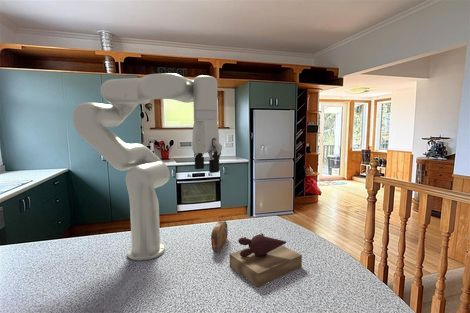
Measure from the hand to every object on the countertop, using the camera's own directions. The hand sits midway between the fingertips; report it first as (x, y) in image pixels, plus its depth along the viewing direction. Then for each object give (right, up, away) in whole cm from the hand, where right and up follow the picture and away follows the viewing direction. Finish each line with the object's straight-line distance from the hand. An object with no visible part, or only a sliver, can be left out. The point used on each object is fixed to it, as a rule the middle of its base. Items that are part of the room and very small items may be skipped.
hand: (206, 170), depth 81 cm
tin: (+3, -29, +14) cm, 33 cm away
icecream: (+18, -27, -2) cm, 32 cm away
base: (+19, -30, -1) cm, 36 cm away
